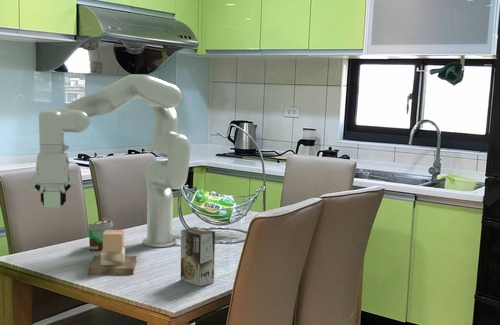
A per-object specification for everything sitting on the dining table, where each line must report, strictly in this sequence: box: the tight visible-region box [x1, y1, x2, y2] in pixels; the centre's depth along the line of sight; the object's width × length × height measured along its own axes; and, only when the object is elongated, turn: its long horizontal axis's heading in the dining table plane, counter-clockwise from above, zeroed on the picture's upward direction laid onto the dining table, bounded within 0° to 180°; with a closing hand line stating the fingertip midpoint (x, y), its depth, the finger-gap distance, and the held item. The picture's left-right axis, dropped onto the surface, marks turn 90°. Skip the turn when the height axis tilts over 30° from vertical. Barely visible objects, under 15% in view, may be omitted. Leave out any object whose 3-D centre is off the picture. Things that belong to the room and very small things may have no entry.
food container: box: [87, 217, 114, 252], centre depth 220 cm, size 12×6×10 cm, turn 168°
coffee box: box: [180, 226, 216, 287], centre depth 186 cm, size 9×6×16 cm
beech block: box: [100, 246, 126, 265], centre depth 198 cm, size 7×7×4 cm
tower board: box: [87, 255, 137, 276], centre depth 198 cm, size 14×14×2 cm
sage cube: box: [43, 188, 63, 208], centre depth 197 cm, size 5×5×5 cm
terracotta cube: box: [103, 229, 125, 252], centre depth 197 cm, size 6×6×6 cm
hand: (53, 203), depth 198 cm, fingers closed on sage cube, 4 cm apart
